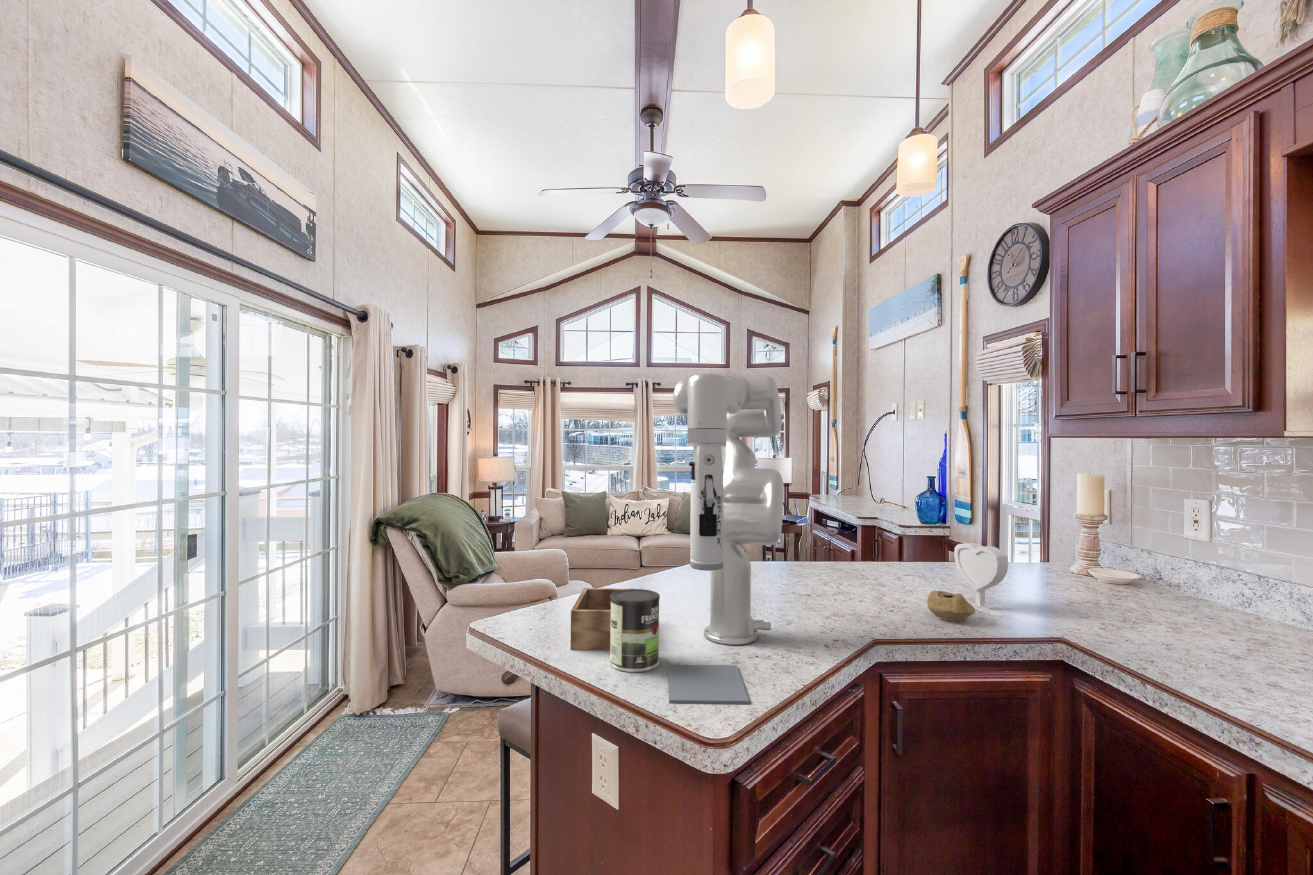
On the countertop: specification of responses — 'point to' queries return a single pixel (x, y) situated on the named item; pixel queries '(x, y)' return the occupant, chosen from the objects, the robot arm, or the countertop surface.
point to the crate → (592, 620)
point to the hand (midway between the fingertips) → (706, 532)
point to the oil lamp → (949, 606)
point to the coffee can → (634, 630)
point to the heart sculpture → (980, 567)
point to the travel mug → (705, 548)
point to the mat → (706, 684)
